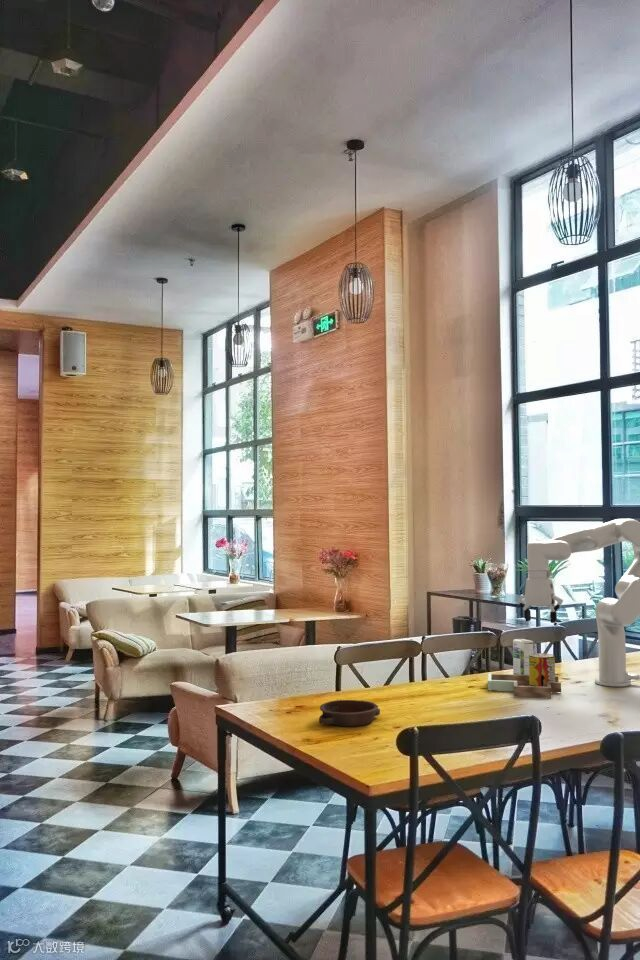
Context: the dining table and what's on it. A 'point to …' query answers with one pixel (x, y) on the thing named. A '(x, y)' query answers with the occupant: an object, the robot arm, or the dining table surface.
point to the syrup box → (521, 656)
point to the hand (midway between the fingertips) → (540, 621)
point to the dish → (348, 712)
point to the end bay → (500, 684)
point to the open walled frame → (529, 690)
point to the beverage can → (541, 669)
